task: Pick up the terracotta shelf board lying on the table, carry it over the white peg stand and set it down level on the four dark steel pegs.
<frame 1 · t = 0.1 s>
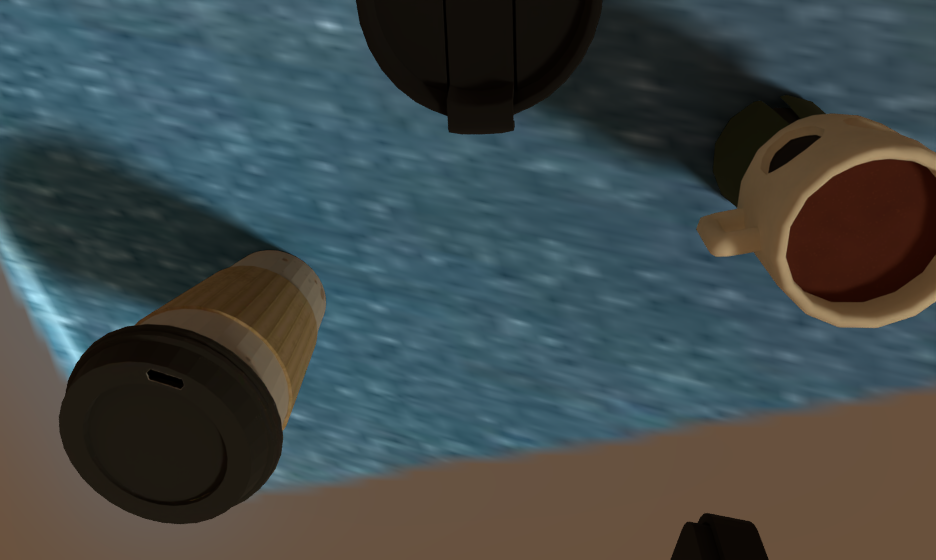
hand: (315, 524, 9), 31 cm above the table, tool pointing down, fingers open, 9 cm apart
character mug: (769, 153, 37), on the table
coffee cup: (278, 295, 44), on the table
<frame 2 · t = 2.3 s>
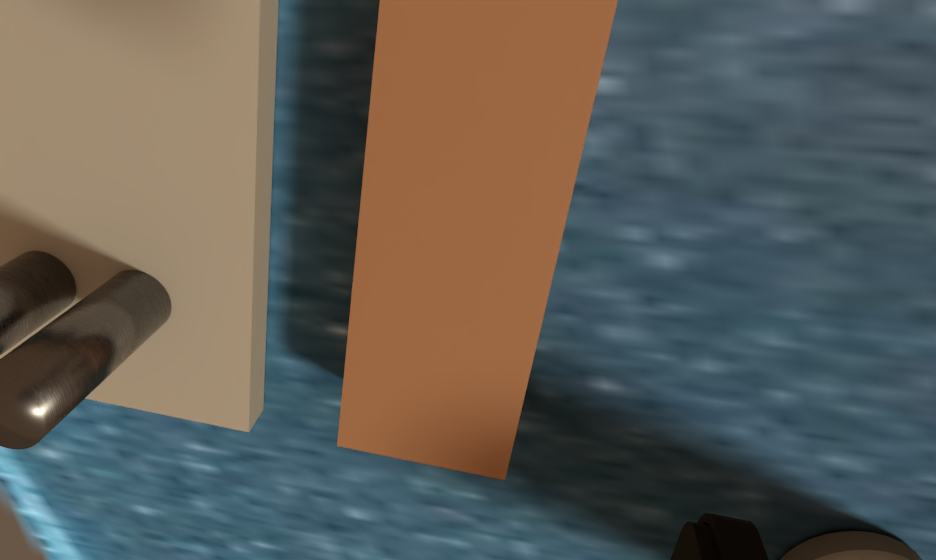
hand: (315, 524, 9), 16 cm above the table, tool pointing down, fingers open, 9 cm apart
shelf board: (478, 157, 24), on the table
peg base: (102, 90, 24), on the table
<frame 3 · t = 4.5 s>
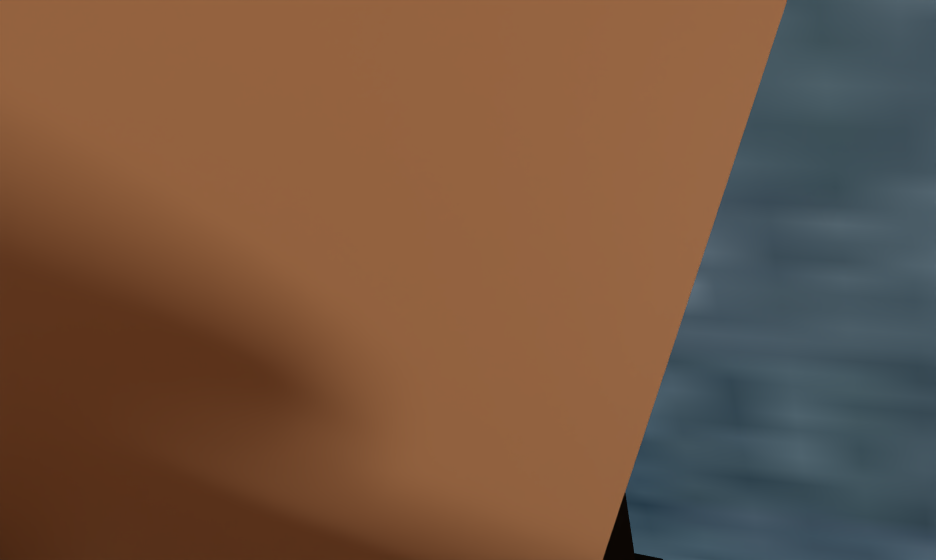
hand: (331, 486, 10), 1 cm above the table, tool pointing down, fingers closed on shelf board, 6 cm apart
shelf board: (351, 433, 11), on the table, touching gripper
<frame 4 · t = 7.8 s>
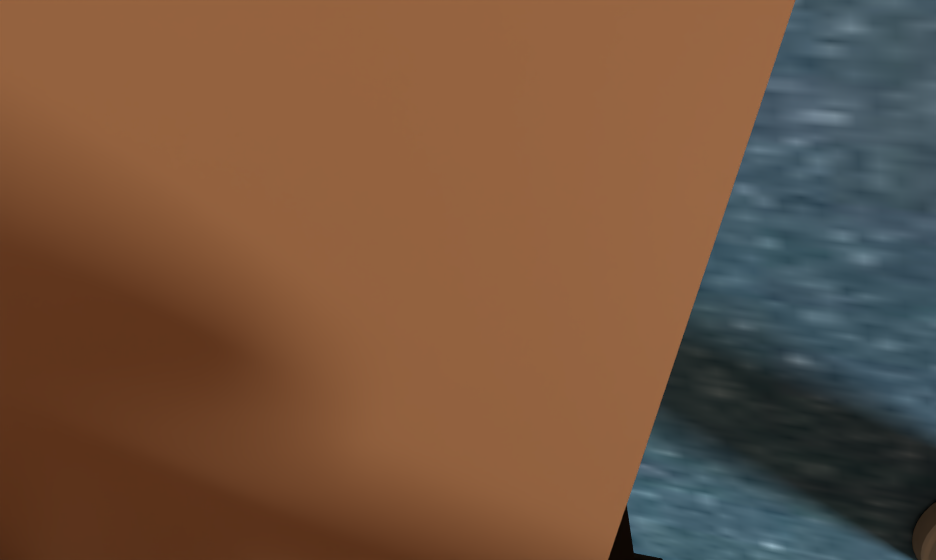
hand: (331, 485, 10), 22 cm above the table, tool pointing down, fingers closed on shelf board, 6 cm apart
shelf board: (352, 437, 11), point 21 cm above the table, touching gripper
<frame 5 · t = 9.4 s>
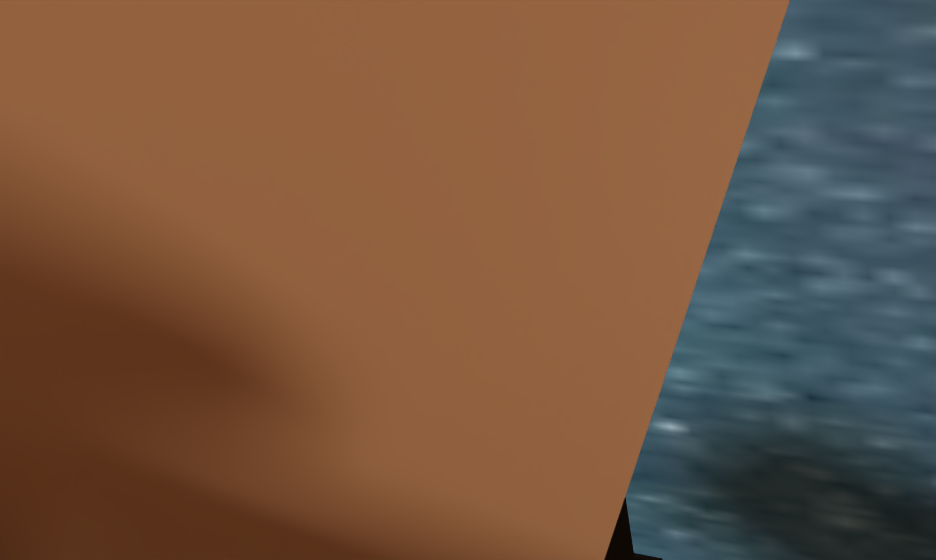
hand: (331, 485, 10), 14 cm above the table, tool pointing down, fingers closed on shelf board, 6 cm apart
shelf board: (350, 437, 11), point 13 cm above the table, touching gripper
when the fingers open (11 cm above the table, at t = 11.0 s): shelf board drops 1 cm, resting on steel pegs.
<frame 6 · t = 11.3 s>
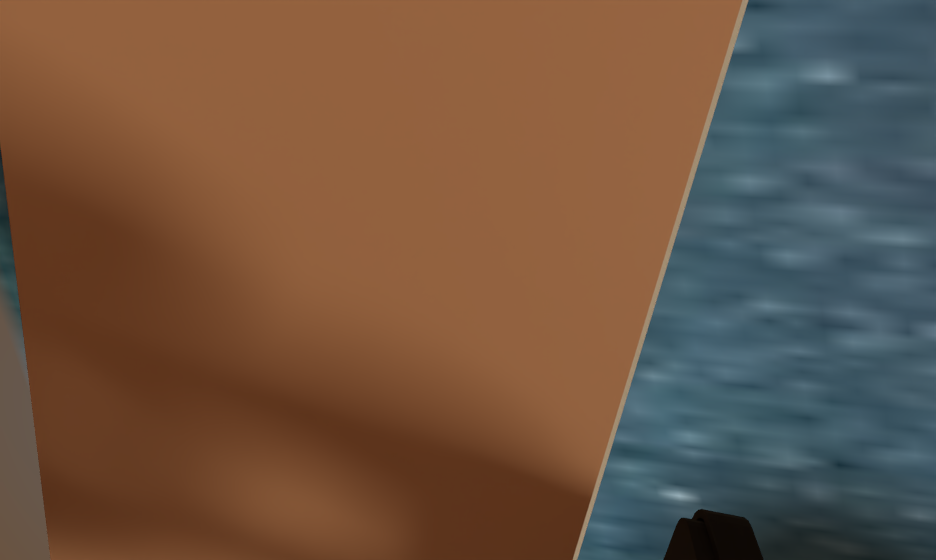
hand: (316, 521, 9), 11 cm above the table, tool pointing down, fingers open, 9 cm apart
shelf board: (373, 390, 12), point 8 cm above the table, touching steel pegs
peg base: (438, 225, 20), on the table
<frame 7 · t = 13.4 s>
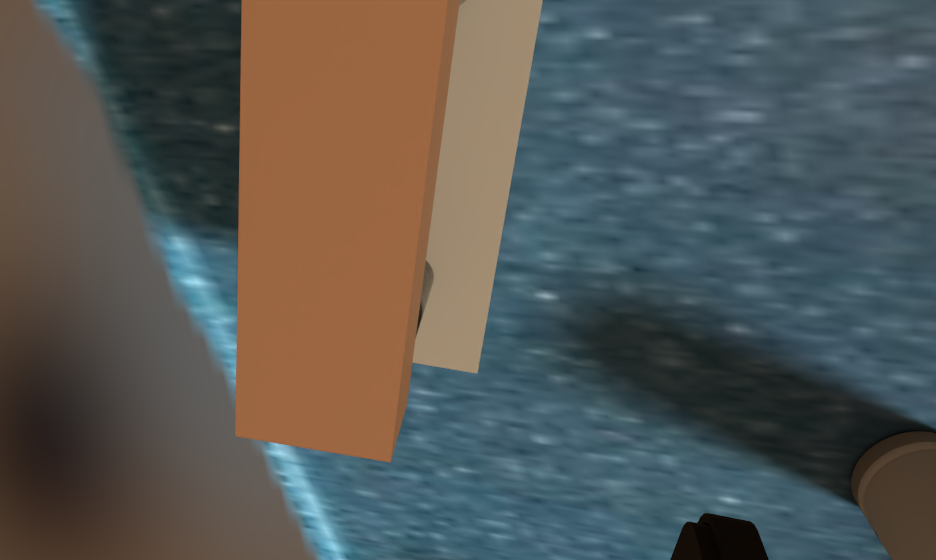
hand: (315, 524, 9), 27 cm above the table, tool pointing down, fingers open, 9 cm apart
shelf board: (357, 168, 26), point 8 cm above the table, touching steel pegs
travel mug: (905, 475, 40), on the table
steel pegs: (373, 150, 30), on the peg base, point 5 cm above the table
peg base: (394, 127, 34), on the table
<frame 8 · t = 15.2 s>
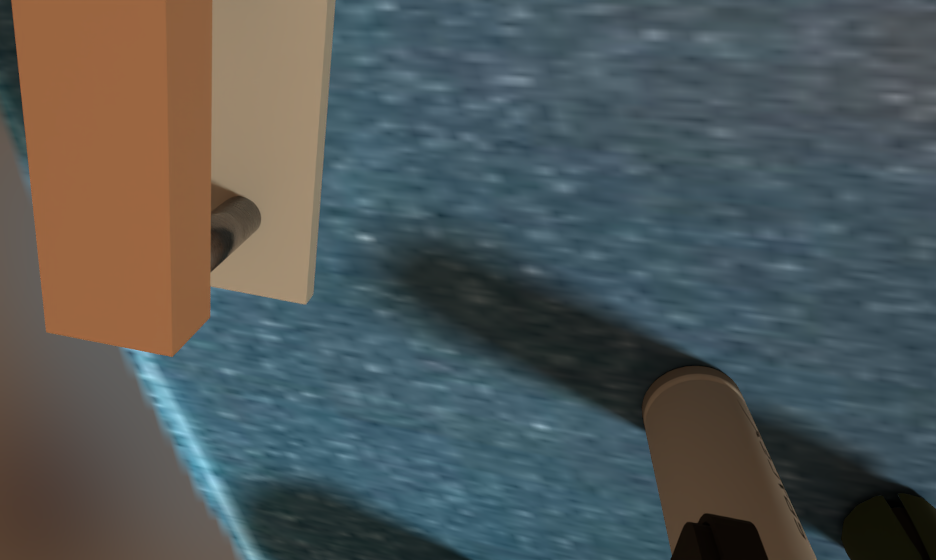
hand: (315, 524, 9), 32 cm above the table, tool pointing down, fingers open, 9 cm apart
character mug: (884, 521, 47), on the table
shelf board: (147, 112, 32), point 8 cm above the table, touching steel pegs
travel mug: (690, 406, 45), on the table
steel pegs: (181, 101, 35), on the peg base, point 5 cm above the table
peg base: (223, 85, 40), on the table
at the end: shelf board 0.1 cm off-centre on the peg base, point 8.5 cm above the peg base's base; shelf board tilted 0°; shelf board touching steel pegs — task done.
